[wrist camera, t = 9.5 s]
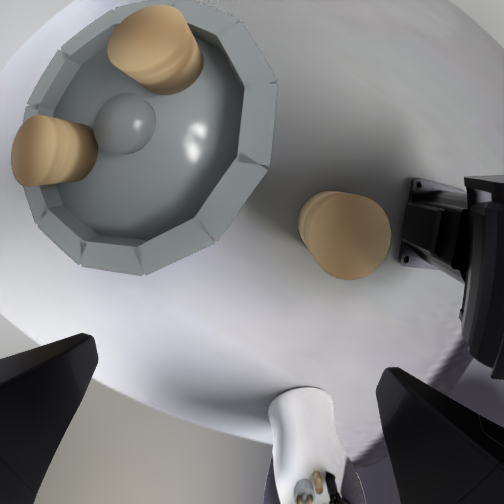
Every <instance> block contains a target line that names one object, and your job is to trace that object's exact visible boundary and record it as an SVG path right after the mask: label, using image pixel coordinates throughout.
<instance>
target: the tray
mask: <svg viewBox="0 0 504 504" xmlns="http://www.w3.org/2000/svg"><path fill="white" fill-rule="evenodd" d="M152 5H168V6H172V7H174V8H176V9H178V10H179V11H180V12H181V13H182V15H183V17H184V19H185V21H186V22H187V24H188V26H189V28H190V30H191V32H192V34H193V36H194V38H195V40H196V42H197V44H198V46H199V48H200V50H201V52H202V54H203V58H204V65H203V69H202V72H201V74H200V76H199V77H198V79H197V80H196V81H195V82H194V83H193V84H192V85H191V86H190V87H188V88H187V89H185V90H184V91H181V92H179V93H176V94H173V95H158V94H155V93H153V92H151V91H149V90H148V89H147V88H145V87H144V86H143V85H141V84H140V83H138V82H137V81H136V80H134V79H133V78H131V77H130V76H129V75H127V74H126V73H124V72H123V71H122V70H120V69H119V68H117V67H116V66H114V65H113V64H112V63H111V61H110V59H109V57H108V52H107V49H108V43H109V40H110V37H111V35H112V33H113V32H114V30H115V29H116V27H117V26H118V25H119V24H120V23H121V22H122V21H123V20H124V19H125V18H126V17H128V16H129V15H131V14H132V13H134V12H136V11H137V10H140V9H142V8H145V7H148V6H152ZM61 50H62V51H60V50H58V51H57V53H56V54H55V56H54V57H53V59H52V60H51V62H50V63H49V65H48V67H47V68H46V70H45V72H44V73H43V75H42V77H41V78H40V80H39V82H38V84H37V85H36V87H35V89H34V91H33V93H32V95H31V97H30V99H29V101H28V103H27V104H28V105H30V106H27V107H26V109H25V114H24V120H23V123H24V122H25V121H26V120H27V119H29V118H30V117H32V116H34V115H44V116H49V117H54V118H58V119H63V120H67V121H72V122H76V123H80V124H84V125H87V126H89V127H90V128H92V130H93V131H94V136H95V139H96V141H97V143H98V155H97V159H96V162H95V165H94V167H93V169H92V170H91V172H90V173H89V174H88V175H87V176H86V177H85V178H84V179H82V180H80V181H78V182H70V183H58V184H48V185H39V186H30V187H26V186H23V187H24V190H25V194H26V197H27V200H28V203H29V206H30V209H31V212H32V215H33V217H34V220H35V223H36V224H37V223H39V224H38V228H39V229H40V230H42V231H43V232H44V233H45V234H46V235H47V236H48V237H49V238H50V239H51V240H52V241H53V242H54V243H55V244H56V245H57V246H58V247H59V248H60V249H61V250H63V251H64V252H65V253H66V254H67V255H68V256H69V257H70V258H71V259H73V260H74V261H75V262H76V263H77V264H78V265H79V264H82V267H88V268H94V269H100V270H106V271H113V272H119V273H126V274H133V275H139V276H142V275H144V274H145V275H148V274H150V273H152V272H154V271H156V270H158V269H160V268H163V267H165V266H167V265H169V264H171V263H173V262H176V261H178V260H180V259H182V258H184V257H186V256H189V255H191V254H193V253H195V252H197V251H200V250H202V249H204V248H206V247H208V246H211V245H213V244H214V243H215V242H216V240H217V241H218V239H219V238H220V237H221V235H222V234H223V232H224V231H225V229H226V228H227V227H228V225H229V224H230V222H231V221H232V220H233V218H234V217H235V215H236V214H237V213H238V211H239V210H240V208H241V207H242V206H243V204H244V203H245V201H246V200H247V199H248V197H249V196H250V195H251V193H252V192H253V190H254V189H255V188H256V186H257V185H258V184H259V182H260V181H261V179H262V178H263V177H264V175H265V174H266V173H267V171H268V170H267V169H265V168H269V167H270V161H271V151H272V142H273V132H274V122H275V112H276V102H277V91H278V84H277V79H276V77H275V75H274V73H273V71H272V70H271V68H270V66H269V64H268V63H267V61H266V59H265V57H264V56H263V54H262V52H261V51H260V49H259V47H258V46H257V44H256V42H255V41H254V39H253V37H252V36H251V34H250V33H249V31H248V29H247V28H246V26H245V25H244V23H243V22H240V20H239V19H238V18H236V17H234V16H232V15H229V14H227V13H225V12H222V11H220V10H217V9H215V8H212V7H210V6H207V5H204V4H202V3H199V2H196V1H193V0H149V1H143V2H138V3H134V4H129V5H125V6H121V7H117V8H115V10H114V11H113V10H110V11H109V12H107V13H106V14H104V15H103V16H101V17H100V18H98V19H97V20H95V21H94V22H92V23H91V24H90V25H88V26H87V27H85V28H84V29H83V30H81V31H80V32H79V33H78V34H76V35H75V36H74V37H72V38H71V39H70V40H69V41H67V42H66V43H65V44H64V45H63V46H61Z"/></svg>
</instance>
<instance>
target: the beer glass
mask: <svg viewBox="0 0 504 504" xmlns="http://www.w3.org/2000/svg"><path fill="white" fill-rule="evenodd" d="M268 416H269V420H270V424H271V427H272V431H273V439H274V441H273V451H272V457H271V461H270V465H269V470H268V475H267V479H266V485H265V491H264V499H263V504H366V501H365V496H364V492H363V489H362V485H361V482H360V479H359V477H358V475H357V473H356V470H355V468H354V466H353V464H352V462H351V460H350V458H349V456H348V454H347V453H346V451H345V449H344V447H343V445H342V443H341V441H340V439H339V437H338V435H337V432H336V429H335V424H334V404H333V400H332V398H331V397H330V395H329V394H328V393H326V392H325V391H323V390H321V389H318V388H312V387H301V388H295V389H291V390H289V391H286V392H284V393H282V394H280V395H279V396H277V397H276V398H275V399H274V400H273V401H272V402H271V404H270V406H269V409H268Z"/></svg>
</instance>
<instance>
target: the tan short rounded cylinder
mask: <svg viewBox="0 0 504 504" xmlns="http://www.w3.org/2000/svg"><path fill="white" fill-rule="evenodd" d="M97 155H98V143H97V141H96V139H95V136H94V131H93V130H92V128H90V127H89V126H87V125H84V124H80V123H76V122H72V121H67V120H63V119H58V118H54V117H49V116H44V115H34V116H32V117H30V118H29V119H27V120H26V121H25V122H24V123H23V125H22V126H21V127H20V129H19V131H18V132H17V134H16V137H15V139H14V143H13V147H12V153H11V165H12V171H13V174H14V176H15V178H16V180H17V181H18V182H19V183H20V184H21V185H23V186H26V187H30V186H39V185H48V184H58V183H70V182H78V181H80V180H82V179H84V178H85V177H86V176H87V175H88V174H89V173H90V172H91V170H92V169H93V167H94V165H95V162H96V159H97Z"/></svg>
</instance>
